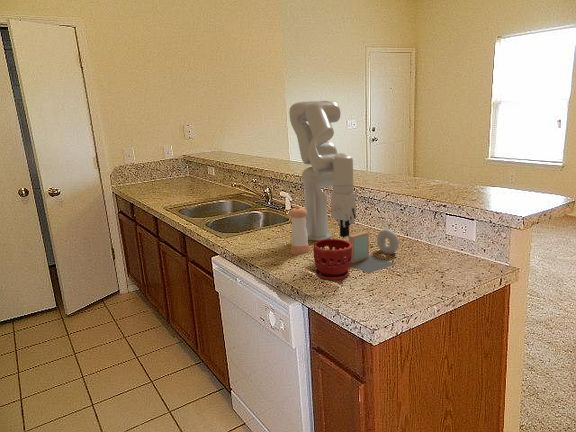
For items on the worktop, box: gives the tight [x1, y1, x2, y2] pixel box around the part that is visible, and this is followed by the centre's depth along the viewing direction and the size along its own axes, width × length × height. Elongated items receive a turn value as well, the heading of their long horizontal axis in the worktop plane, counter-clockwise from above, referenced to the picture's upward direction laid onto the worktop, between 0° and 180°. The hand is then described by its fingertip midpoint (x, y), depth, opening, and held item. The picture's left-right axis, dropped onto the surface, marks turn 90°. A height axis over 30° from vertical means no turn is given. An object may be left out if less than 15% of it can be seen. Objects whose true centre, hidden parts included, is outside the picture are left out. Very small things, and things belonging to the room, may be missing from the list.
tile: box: [348, 231, 370, 263], centre depth 163 cm, size 2×8×10 cm, turn 124°
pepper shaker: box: [288, 205, 310, 256], centre depth 176 cm, size 7×7×19 cm
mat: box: [349, 254, 396, 274], centre depth 161 cm, size 16×13×1 cm
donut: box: [376, 228, 400, 255], centre depth 170 cm, size 10×4×10 cm, turn 35°
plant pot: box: [312, 238, 352, 282], centre depth 150 cm, size 13×13×12 cm
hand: (344, 236), depth 169 cm, fingers closed
